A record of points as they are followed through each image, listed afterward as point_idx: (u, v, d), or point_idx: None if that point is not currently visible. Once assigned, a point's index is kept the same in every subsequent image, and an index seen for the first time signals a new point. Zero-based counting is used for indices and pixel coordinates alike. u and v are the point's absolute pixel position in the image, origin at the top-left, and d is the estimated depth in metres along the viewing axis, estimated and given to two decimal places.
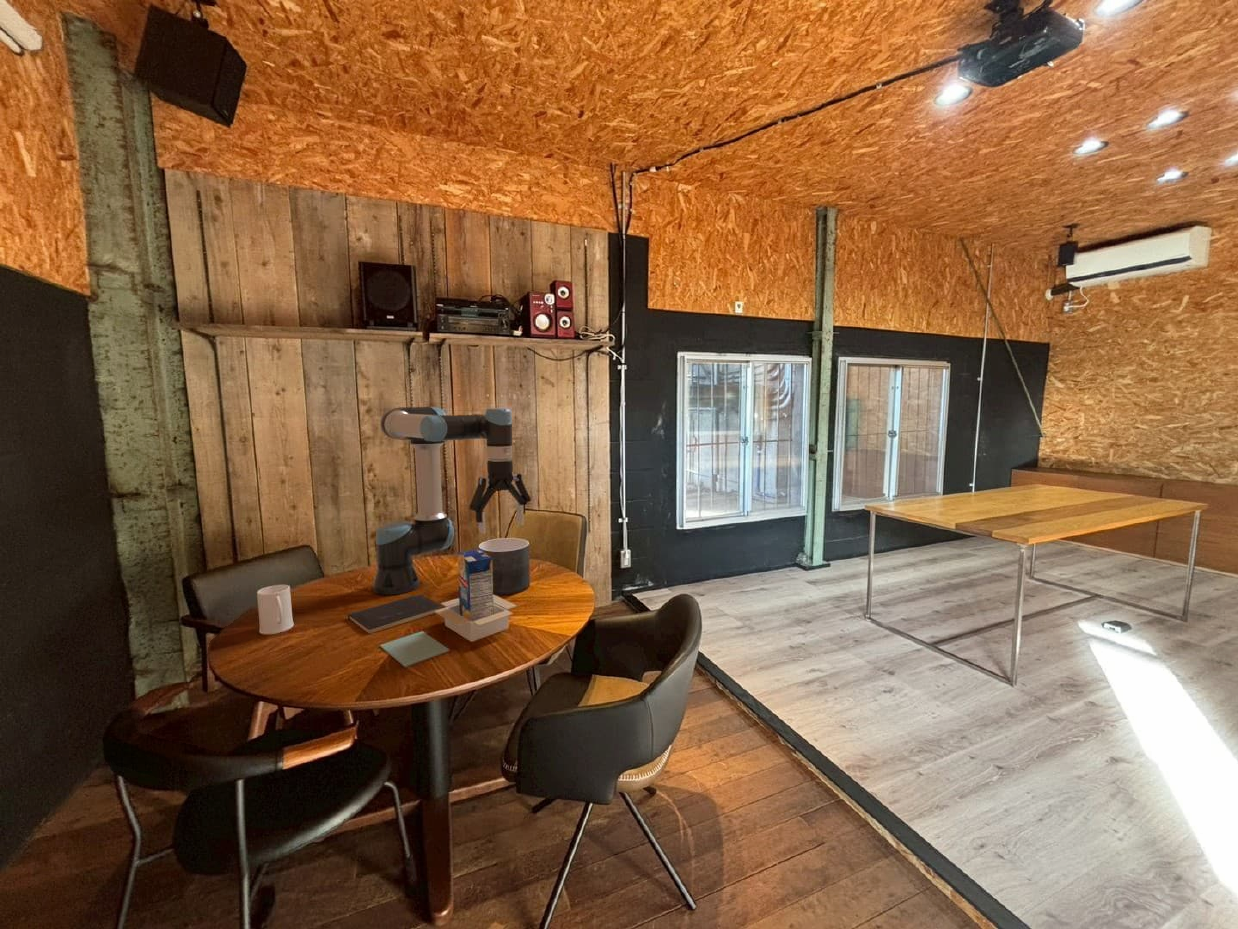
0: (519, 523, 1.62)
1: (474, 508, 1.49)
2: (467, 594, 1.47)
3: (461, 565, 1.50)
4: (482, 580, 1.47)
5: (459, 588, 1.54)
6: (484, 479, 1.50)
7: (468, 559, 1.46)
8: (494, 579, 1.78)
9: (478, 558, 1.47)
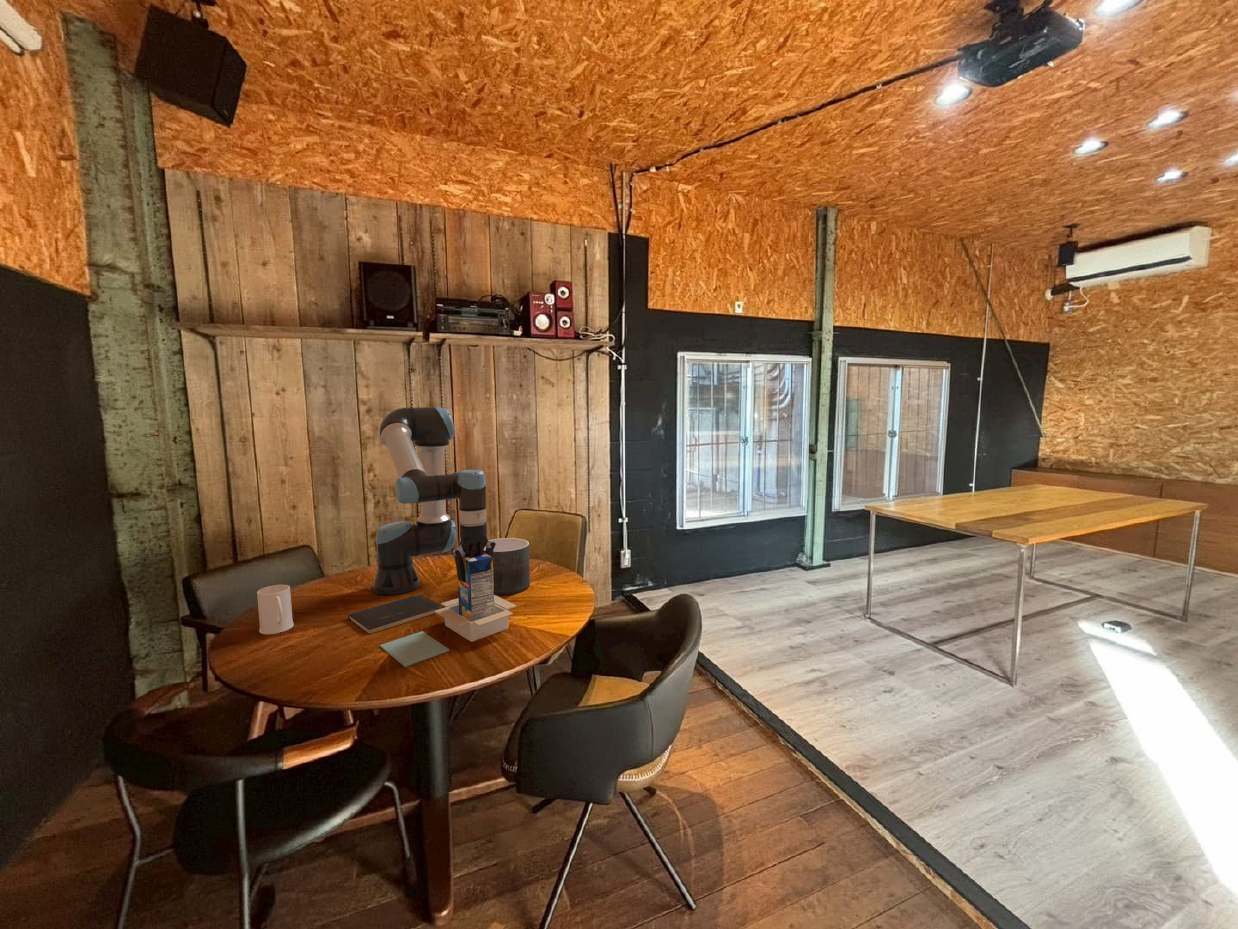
0: None
1: (463, 580, 1.47)
2: (468, 594, 1.47)
3: None
4: (483, 580, 1.47)
5: (458, 588, 1.54)
6: (457, 552, 1.45)
7: (469, 559, 1.46)
8: (494, 579, 1.78)
9: (479, 558, 1.48)
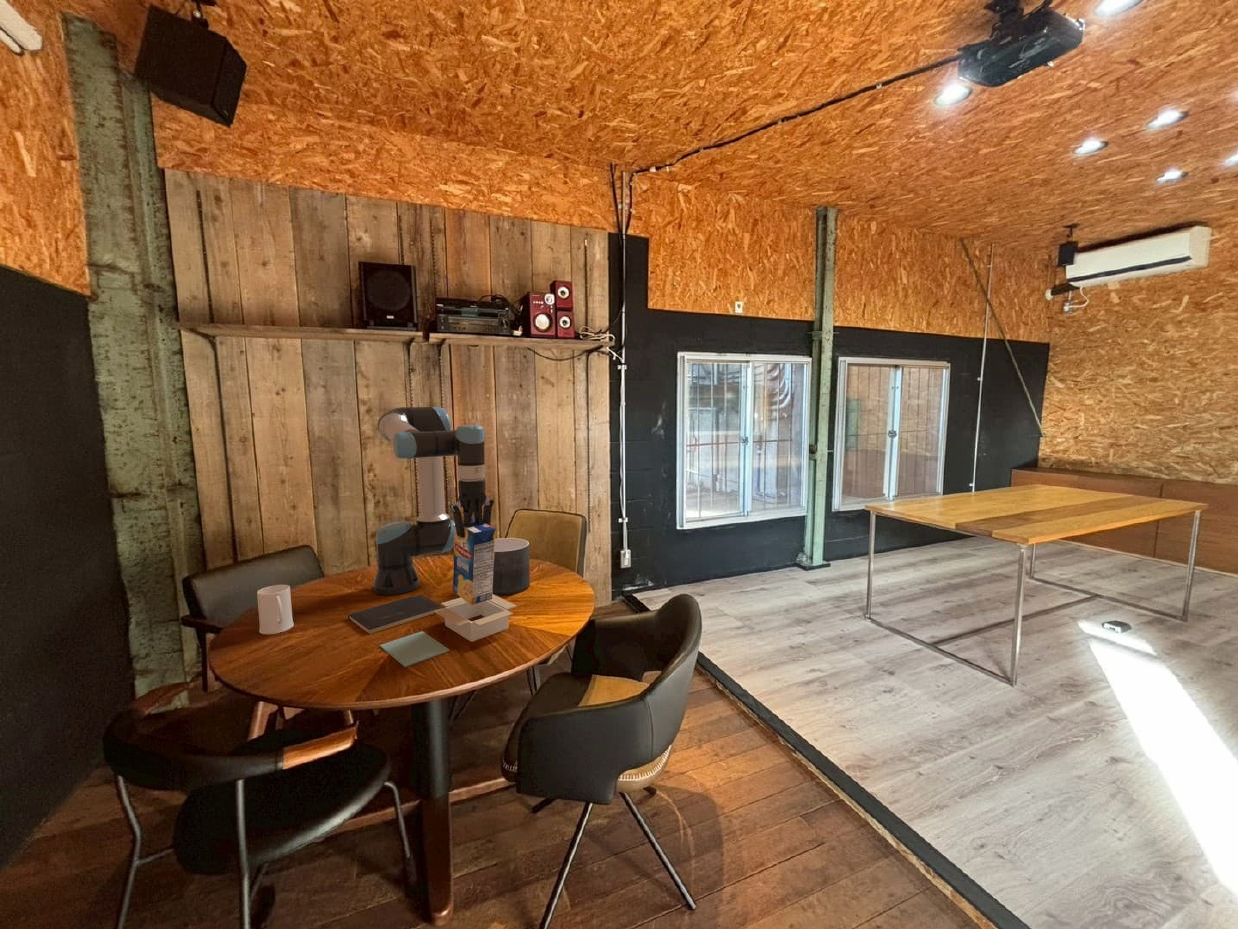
0: None
1: (462, 536, 1.46)
2: (469, 564, 1.46)
3: None
4: (485, 550, 1.47)
5: (455, 557, 1.52)
6: (455, 507, 1.44)
7: (472, 530, 1.45)
8: (494, 579, 1.78)
9: (481, 529, 1.46)
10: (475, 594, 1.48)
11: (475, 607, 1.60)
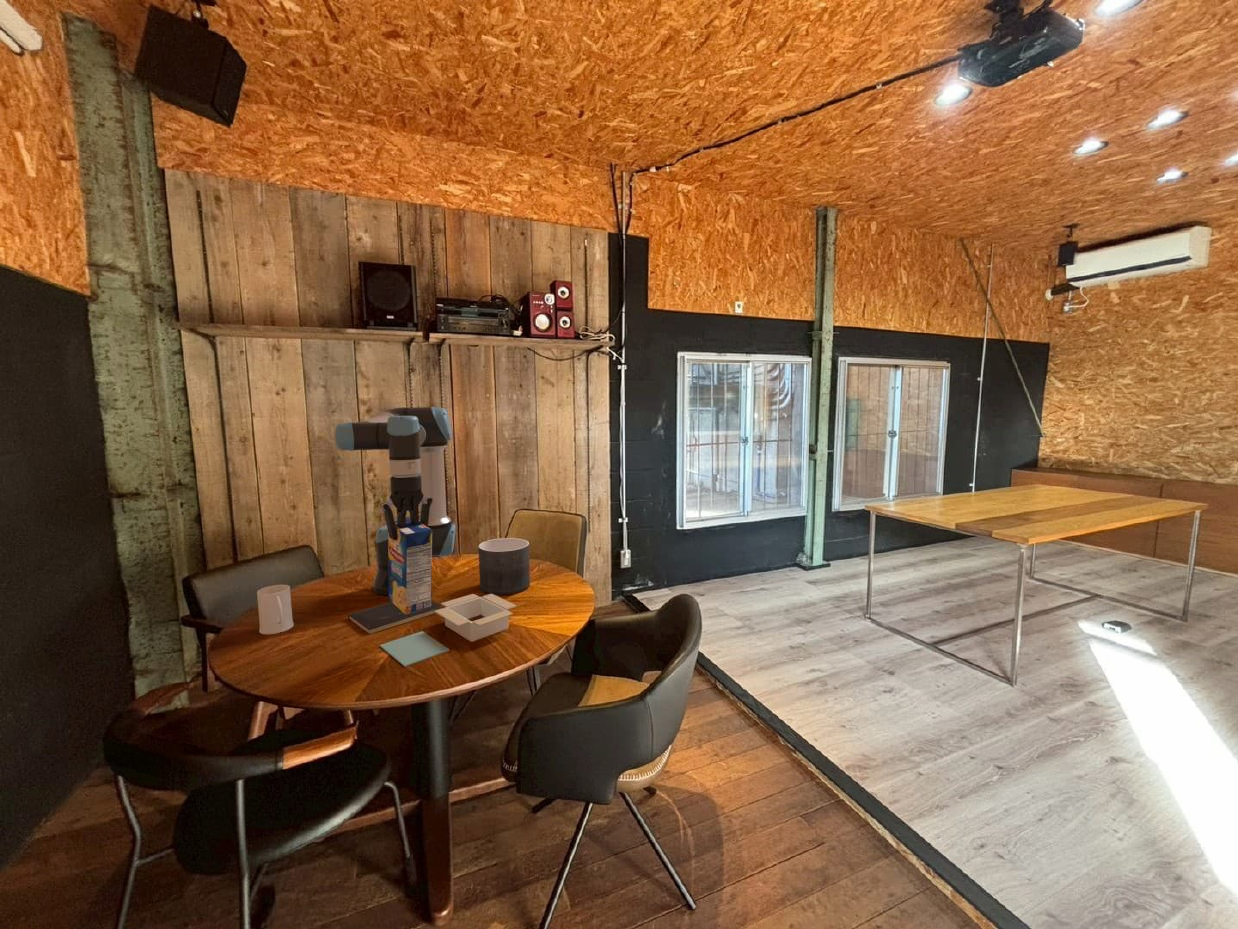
0: None
1: (394, 538, 1.32)
2: (402, 569, 1.32)
3: None
4: (421, 554, 1.33)
5: (389, 561, 1.38)
6: (385, 506, 1.30)
7: (404, 531, 1.31)
8: (494, 579, 1.78)
9: (416, 530, 1.32)
10: (410, 603, 1.34)
11: (475, 607, 1.60)
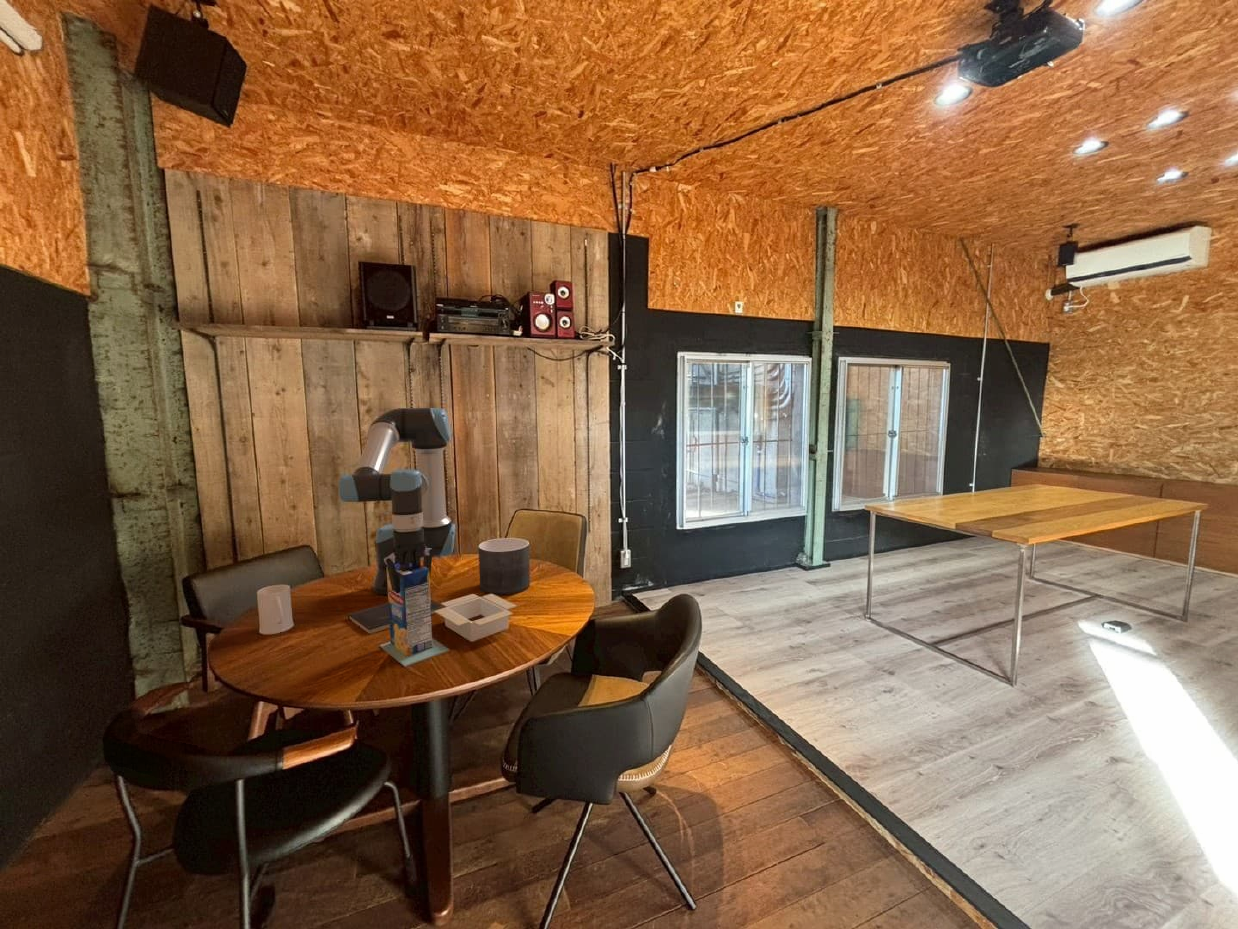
0: None
1: (396, 591, 1.34)
2: (402, 610, 1.34)
3: None
4: (419, 594, 1.35)
5: (389, 605, 1.40)
6: (388, 560, 1.31)
7: (402, 572, 1.34)
8: (494, 579, 1.78)
9: (413, 570, 1.35)
10: (411, 644, 1.35)
11: (475, 607, 1.60)
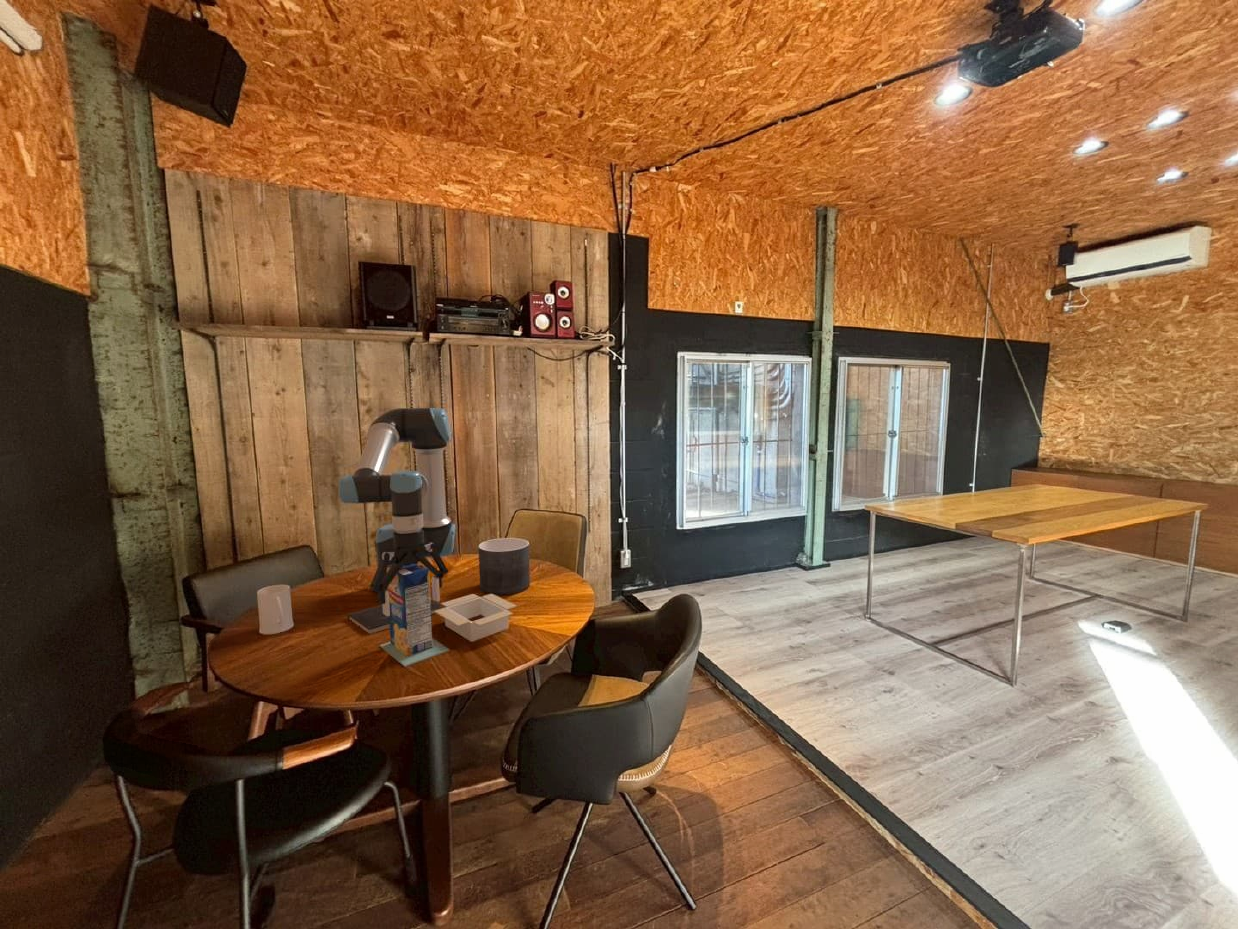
0: (435, 598, 1.43)
1: (374, 589, 1.30)
2: (402, 610, 1.34)
3: None
4: (419, 594, 1.35)
5: (389, 605, 1.40)
6: (387, 554, 1.31)
7: (402, 572, 1.34)
8: (494, 579, 1.78)
9: (413, 570, 1.35)
10: (411, 644, 1.35)
11: (475, 607, 1.60)
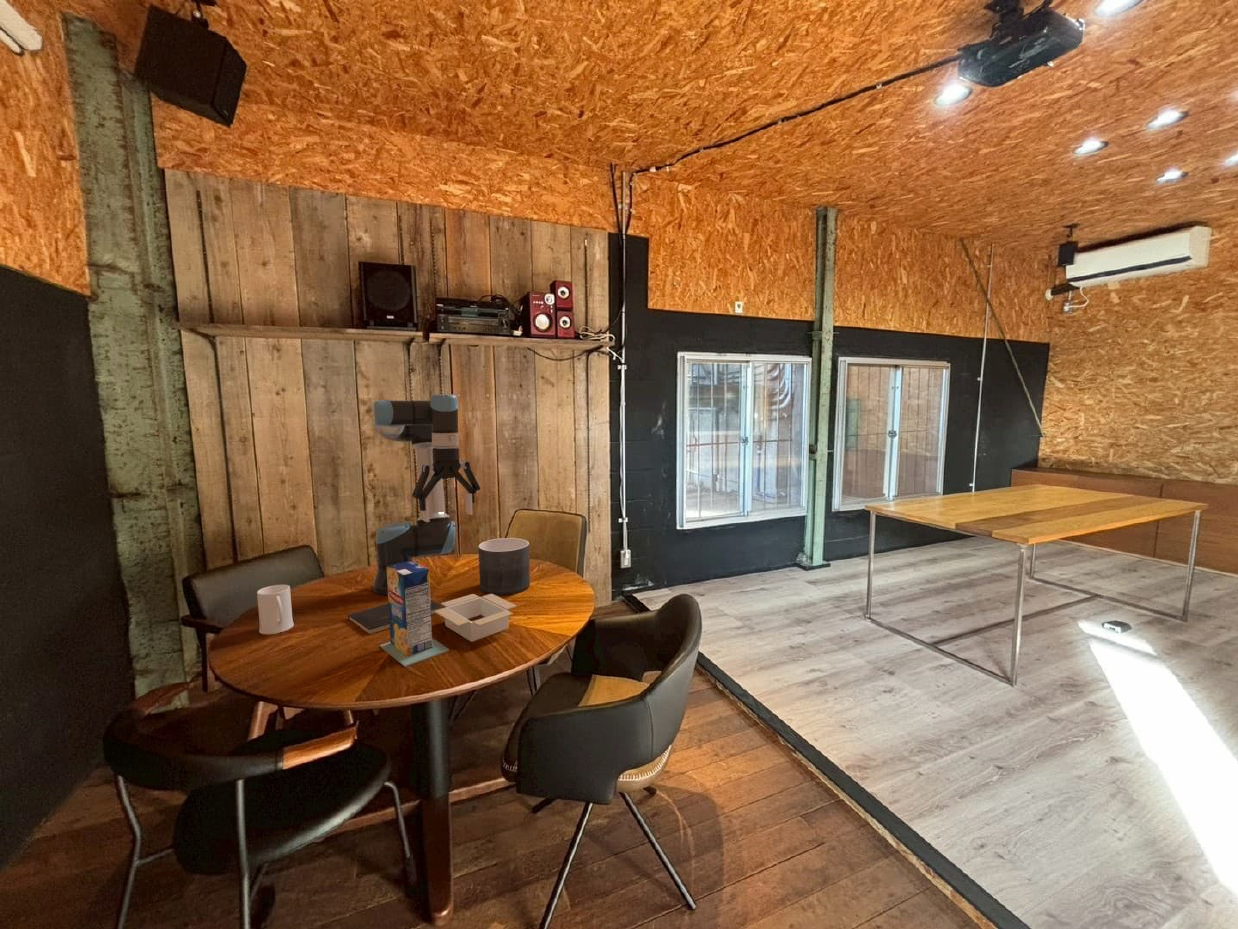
0: (468, 512, 1.59)
1: (416, 496, 1.46)
2: (402, 610, 1.34)
3: (392, 579, 1.37)
4: (419, 594, 1.35)
5: (389, 605, 1.40)
6: (427, 466, 1.47)
7: (402, 572, 1.34)
8: (494, 579, 1.78)
9: (413, 570, 1.35)
10: (411, 644, 1.35)
11: (475, 607, 1.60)
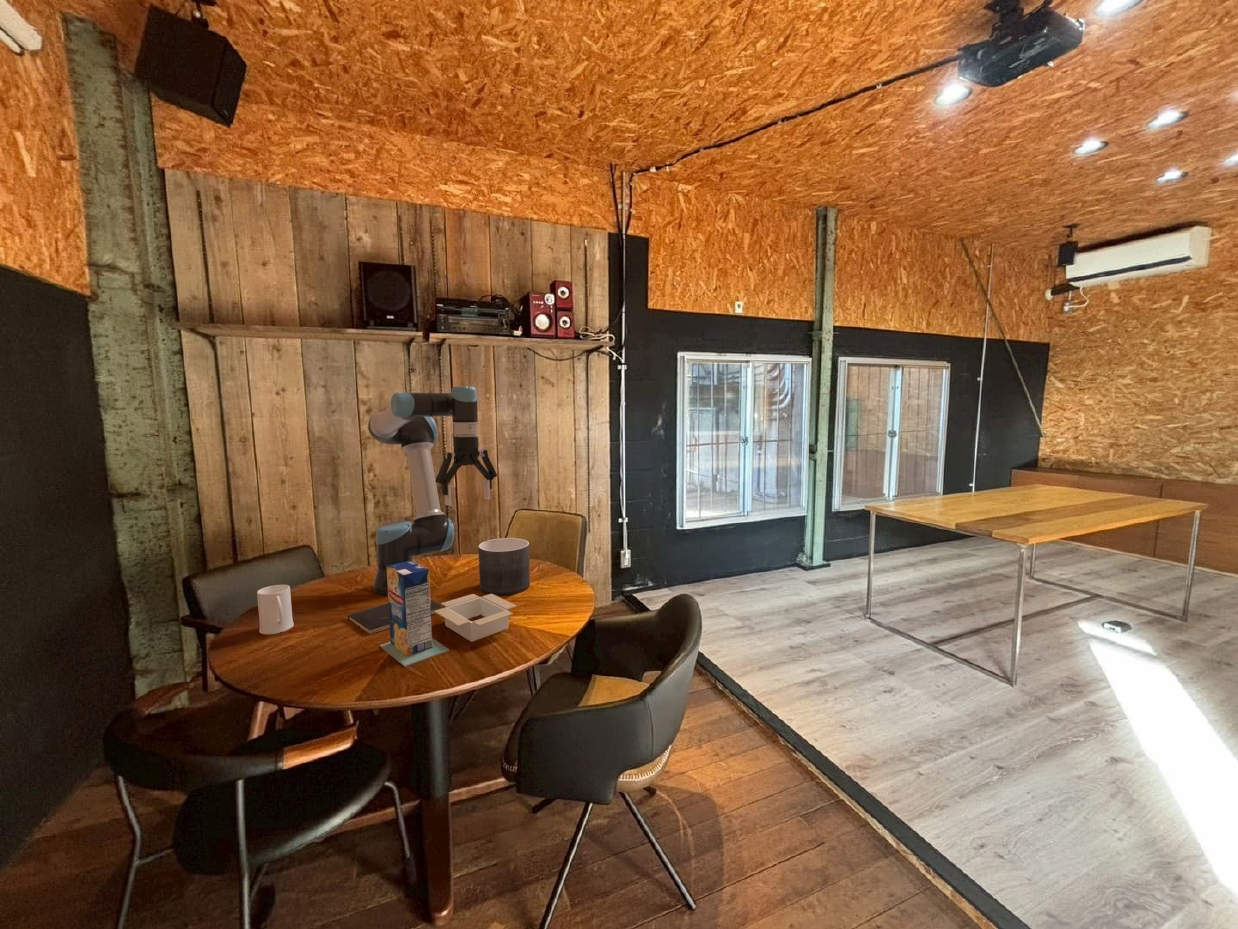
0: (486, 497, 1.69)
1: (440, 481, 1.56)
2: (402, 610, 1.34)
3: (392, 579, 1.37)
4: (419, 594, 1.35)
5: (389, 605, 1.40)
6: (450, 453, 1.57)
7: (402, 572, 1.34)
8: (494, 579, 1.78)
9: (413, 570, 1.35)
10: (411, 644, 1.35)
11: (475, 607, 1.60)
